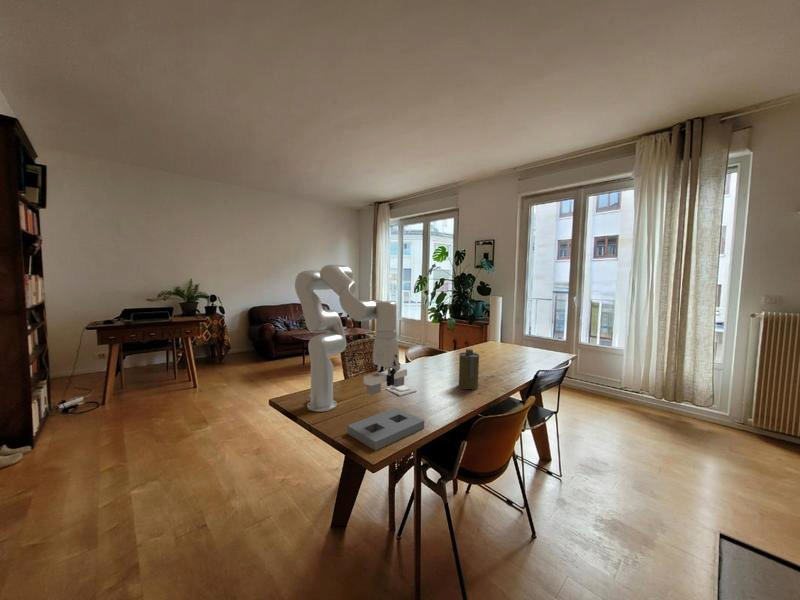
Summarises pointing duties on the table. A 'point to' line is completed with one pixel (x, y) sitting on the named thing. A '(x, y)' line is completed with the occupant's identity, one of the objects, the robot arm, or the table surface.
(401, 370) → the off-white connector bar
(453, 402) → the table surface
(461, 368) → the canister
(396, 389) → the light switch
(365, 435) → the mounting board
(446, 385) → the table surface
